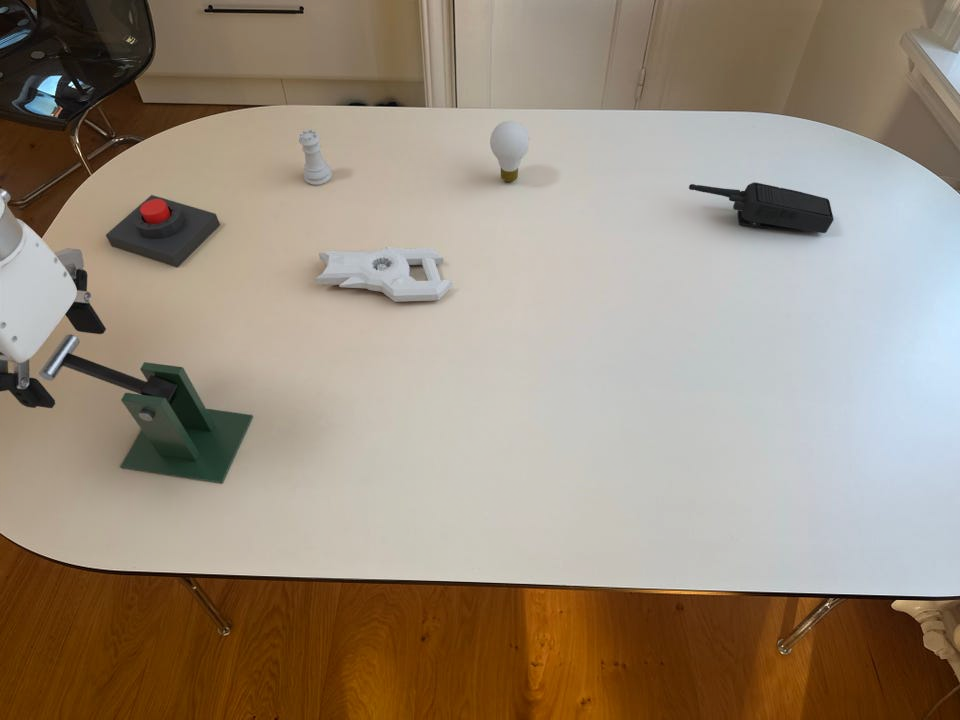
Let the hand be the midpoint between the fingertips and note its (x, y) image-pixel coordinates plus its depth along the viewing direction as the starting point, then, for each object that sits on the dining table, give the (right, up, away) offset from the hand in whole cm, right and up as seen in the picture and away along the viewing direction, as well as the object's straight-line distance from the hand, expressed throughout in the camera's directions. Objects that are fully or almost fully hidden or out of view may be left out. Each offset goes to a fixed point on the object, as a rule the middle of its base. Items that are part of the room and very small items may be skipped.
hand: (67, 365), depth 72 cm
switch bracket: (+9, -9, +9) cm, 16 cm away
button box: (-4, +19, +32) cm, 38 cm away
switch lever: (+4, -2, +1) cm, 5 cm away
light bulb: (+47, +29, +39) cm, 67 cm away
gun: (+29, +11, +25) cm, 40 cm away
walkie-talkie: (+82, +21, +32) cm, 91 cm away
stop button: (-4, +21, +29) cm, 37 cm away
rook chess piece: (+16, +30, +41) cm, 53 cm away
